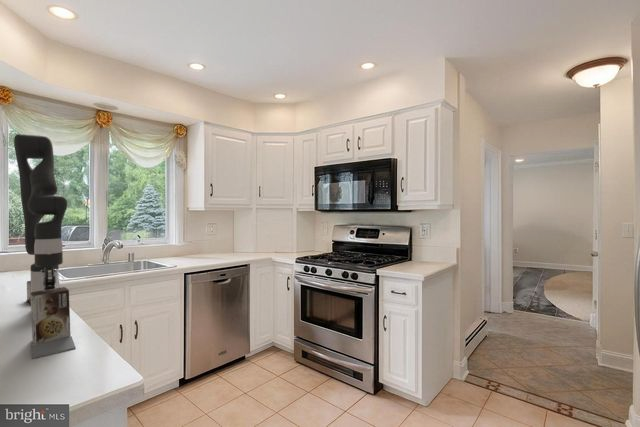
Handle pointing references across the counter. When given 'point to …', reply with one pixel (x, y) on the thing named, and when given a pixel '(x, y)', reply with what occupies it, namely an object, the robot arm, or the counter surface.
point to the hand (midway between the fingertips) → (49, 300)
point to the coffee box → (50, 314)
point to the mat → (52, 347)
